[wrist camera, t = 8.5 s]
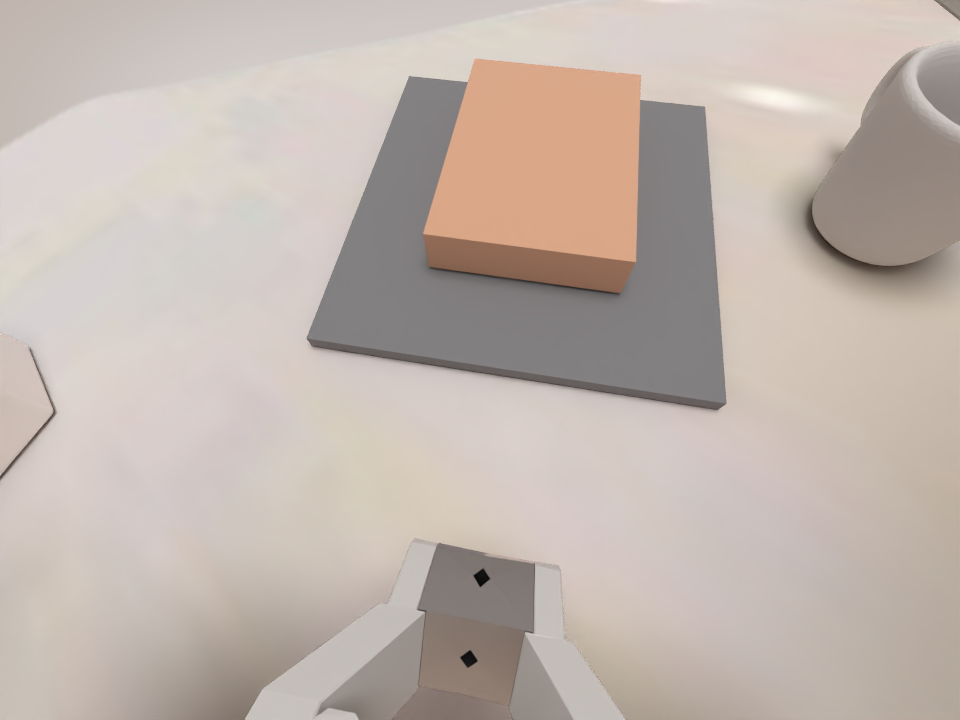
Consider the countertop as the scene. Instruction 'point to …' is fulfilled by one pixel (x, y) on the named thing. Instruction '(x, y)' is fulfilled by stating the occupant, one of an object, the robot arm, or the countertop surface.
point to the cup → (900, 166)
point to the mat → (528, 304)
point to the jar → (19, 399)
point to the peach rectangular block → (541, 177)
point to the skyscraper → (951, 6)
